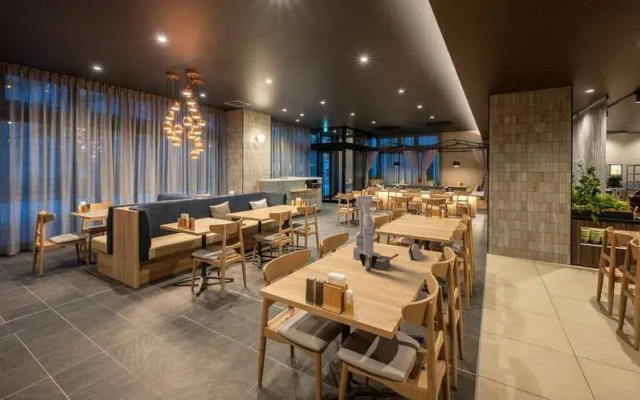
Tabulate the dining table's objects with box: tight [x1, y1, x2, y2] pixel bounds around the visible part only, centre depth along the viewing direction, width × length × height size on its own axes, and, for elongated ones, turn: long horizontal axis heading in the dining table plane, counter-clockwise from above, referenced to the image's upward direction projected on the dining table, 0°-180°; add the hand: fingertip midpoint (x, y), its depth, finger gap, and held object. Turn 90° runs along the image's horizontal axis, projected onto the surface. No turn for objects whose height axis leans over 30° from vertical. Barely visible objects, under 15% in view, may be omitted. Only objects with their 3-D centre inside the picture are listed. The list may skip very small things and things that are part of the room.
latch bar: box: [387, 253, 399, 261], centre depth 191 cm, size 7×4×1 cm
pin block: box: [364, 254, 391, 271], centre depth 197 cm, size 12×12×5 cm
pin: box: [365, 256, 372, 272], centre depth 188 cm, size 3×3×8 cm
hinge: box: [407, 243, 424, 262], centre depth 214 cm, size 17×5×10 cm, turn 150°
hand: (368, 266), depth 188 cm, fingers open, 5 cm apart
